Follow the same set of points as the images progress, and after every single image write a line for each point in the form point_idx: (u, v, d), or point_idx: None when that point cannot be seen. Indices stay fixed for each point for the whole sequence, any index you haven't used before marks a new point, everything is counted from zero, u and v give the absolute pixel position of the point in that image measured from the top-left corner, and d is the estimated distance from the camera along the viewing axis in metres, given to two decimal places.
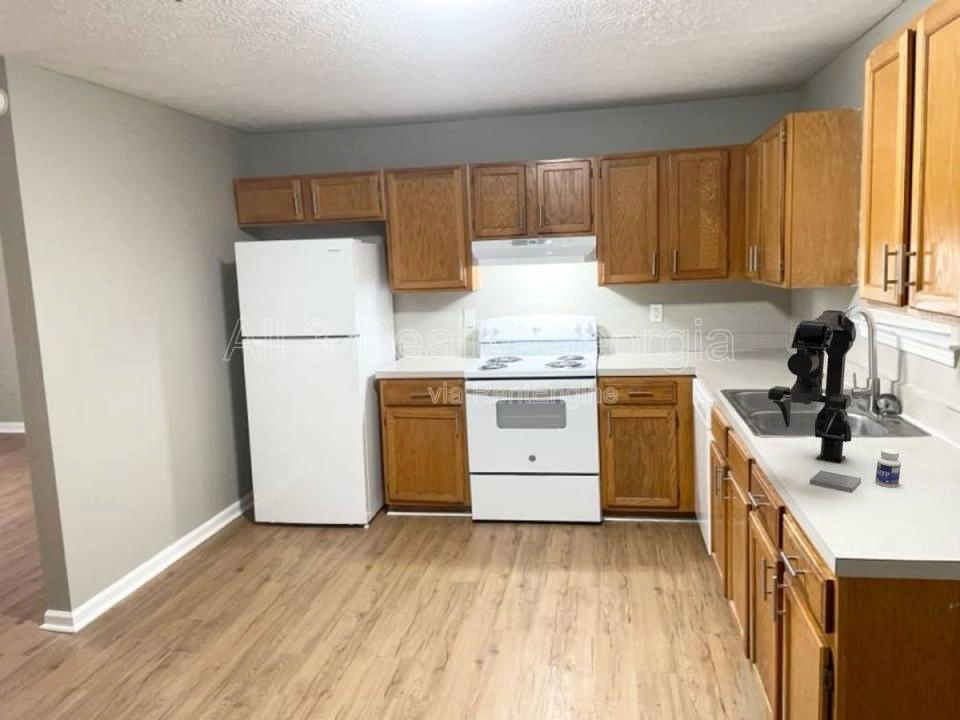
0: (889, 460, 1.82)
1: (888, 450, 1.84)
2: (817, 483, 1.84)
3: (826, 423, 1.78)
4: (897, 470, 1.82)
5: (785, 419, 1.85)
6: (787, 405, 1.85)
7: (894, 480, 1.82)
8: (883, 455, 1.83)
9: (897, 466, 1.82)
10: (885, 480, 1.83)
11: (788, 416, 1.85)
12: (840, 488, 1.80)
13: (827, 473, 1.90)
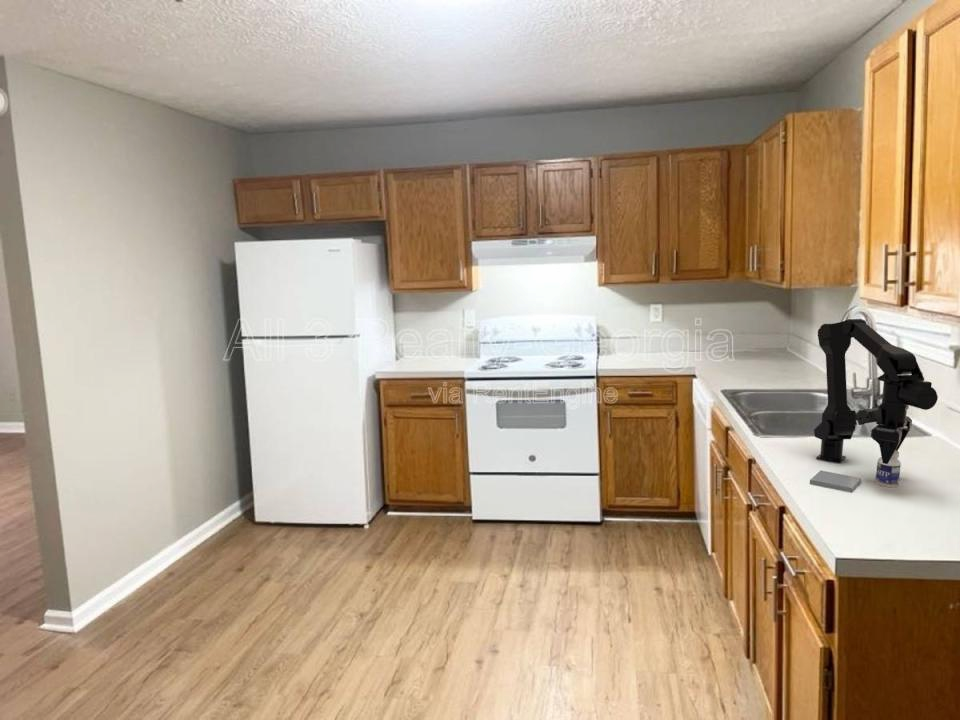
0: None
1: None
2: (817, 483, 1.84)
3: (881, 452, 1.81)
4: (897, 470, 1.82)
5: None
6: None
7: (894, 480, 1.82)
8: None
9: (897, 466, 1.82)
10: (885, 480, 1.83)
11: None
12: (840, 488, 1.80)
13: (827, 473, 1.90)
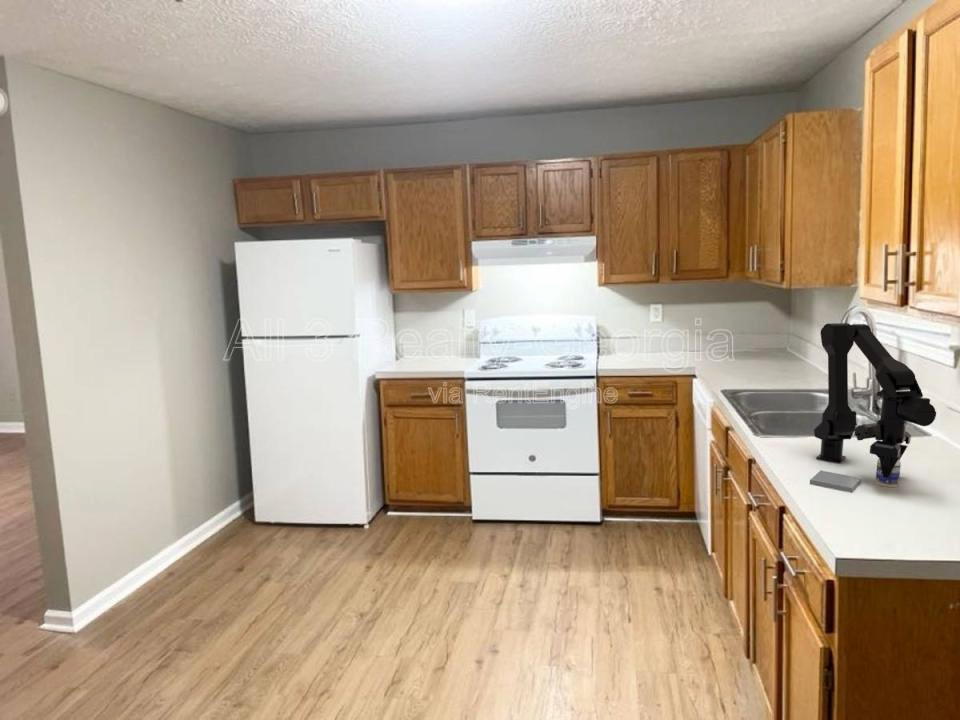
0: None
1: None
2: (817, 483, 1.84)
3: None
4: (897, 470, 1.82)
5: None
6: None
7: (894, 480, 1.82)
8: None
9: (897, 466, 1.82)
10: (885, 479, 1.83)
11: None
12: (840, 488, 1.80)
13: (827, 473, 1.90)
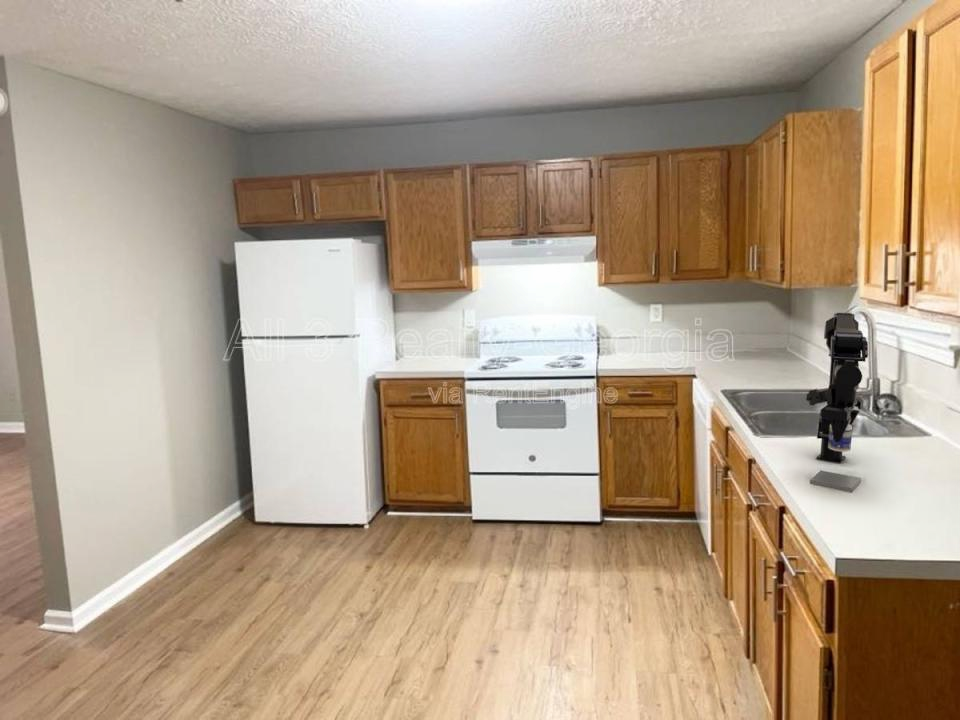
0: None
1: None
2: (817, 483, 1.84)
3: None
4: (848, 435, 1.81)
5: None
6: None
7: (846, 445, 1.81)
8: None
9: (848, 430, 1.81)
10: (836, 444, 1.82)
11: None
12: (840, 488, 1.80)
13: (827, 473, 1.90)
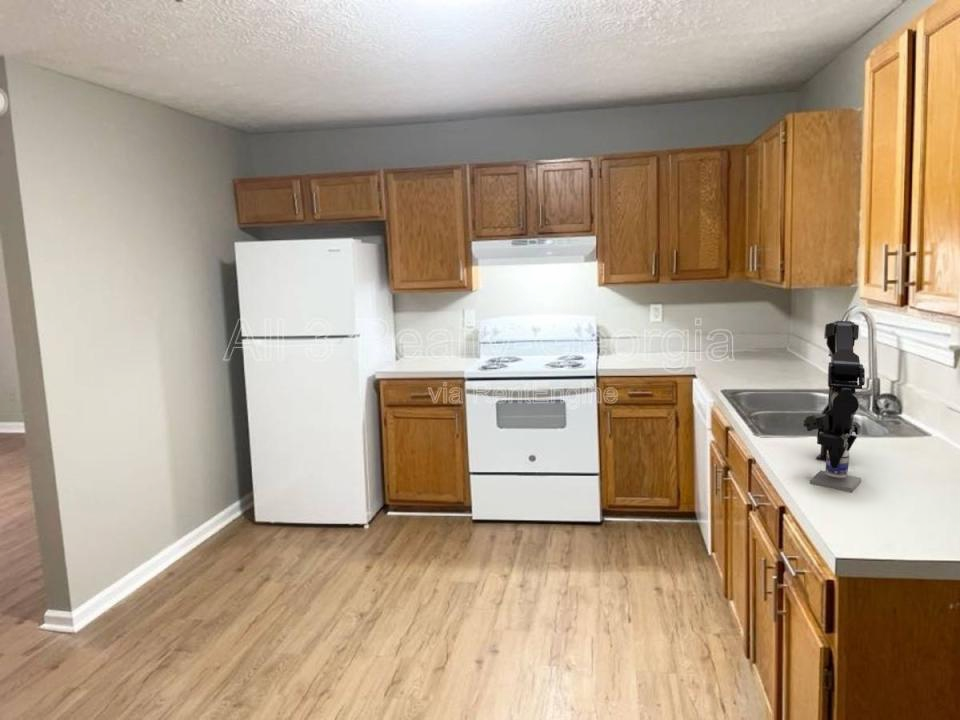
0: None
1: None
2: (817, 483, 1.84)
3: None
4: (845, 461, 1.82)
5: None
6: None
7: (843, 471, 1.82)
8: None
9: (845, 456, 1.82)
10: (833, 470, 1.83)
11: None
12: (840, 488, 1.80)
13: None
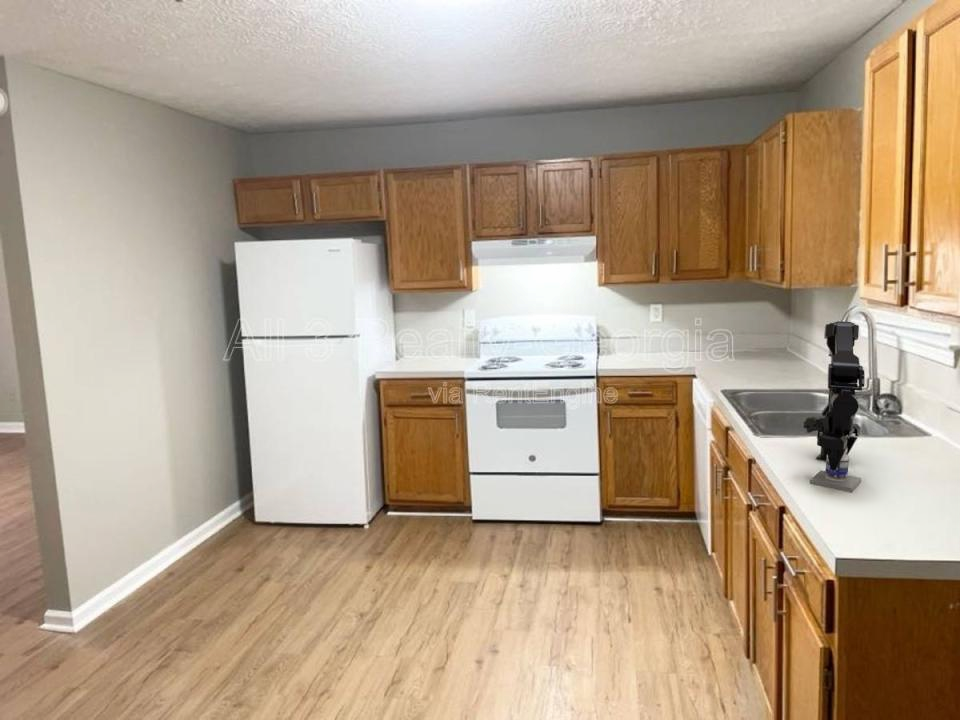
0: None
1: None
2: (817, 483, 1.84)
3: None
4: (845, 465, 1.82)
5: None
6: None
7: (843, 475, 1.83)
8: None
9: (845, 460, 1.82)
10: (833, 474, 1.83)
11: None
12: (840, 488, 1.80)
13: None
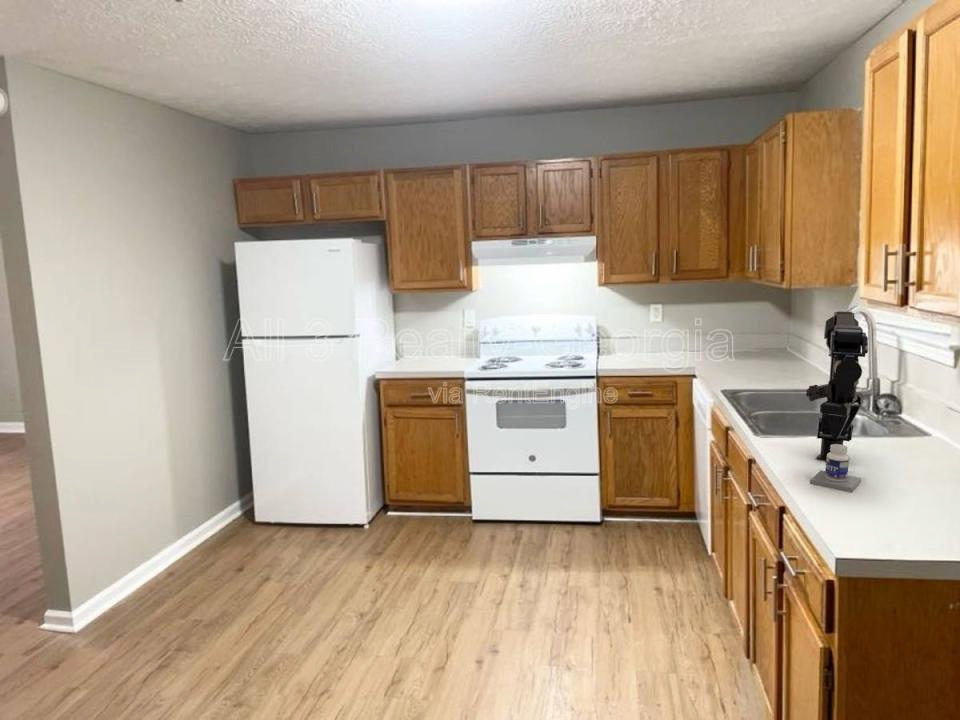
0: (837, 454, 1.83)
1: (837, 445, 1.85)
2: (817, 483, 1.84)
3: None
4: (845, 465, 1.82)
5: None
6: None
7: (843, 475, 1.83)
8: (832, 450, 1.84)
9: (845, 460, 1.82)
10: (833, 474, 1.83)
11: None
12: (840, 488, 1.80)
13: None
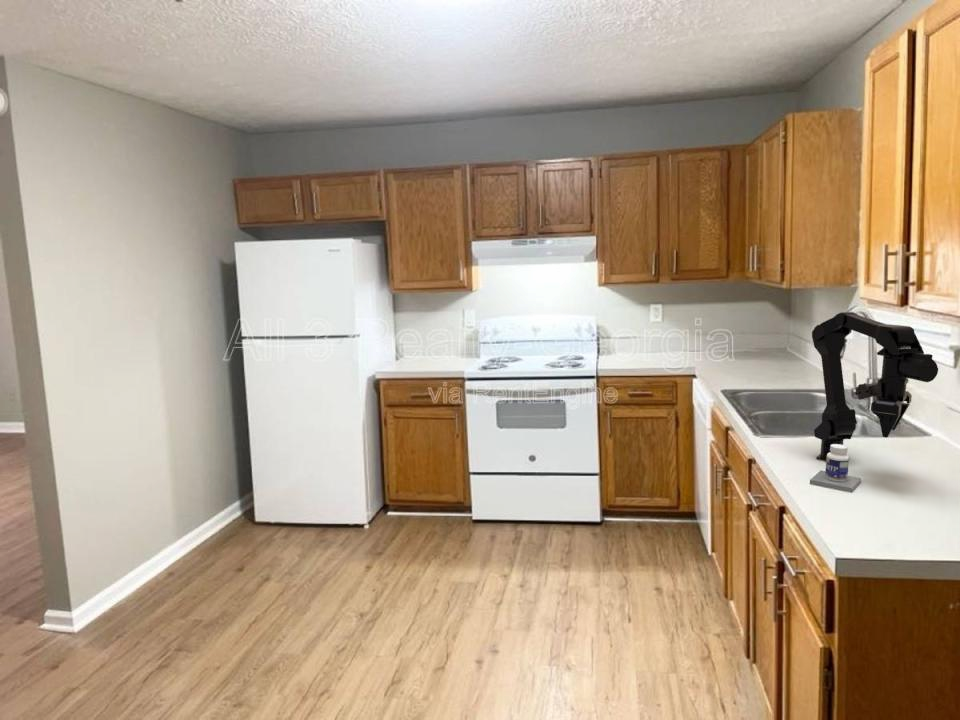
0: (837, 454, 1.83)
1: (837, 445, 1.85)
2: (817, 483, 1.84)
3: (881, 426, 1.82)
4: (845, 465, 1.82)
5: None
6: None
7: (843, 475, 1.83)
8: (832, 450, 1.84)
9: (845, 460, 1.82)
10: (833, 474, 1.83)
11: None
12: (840, 488, 1.80)
13: None
